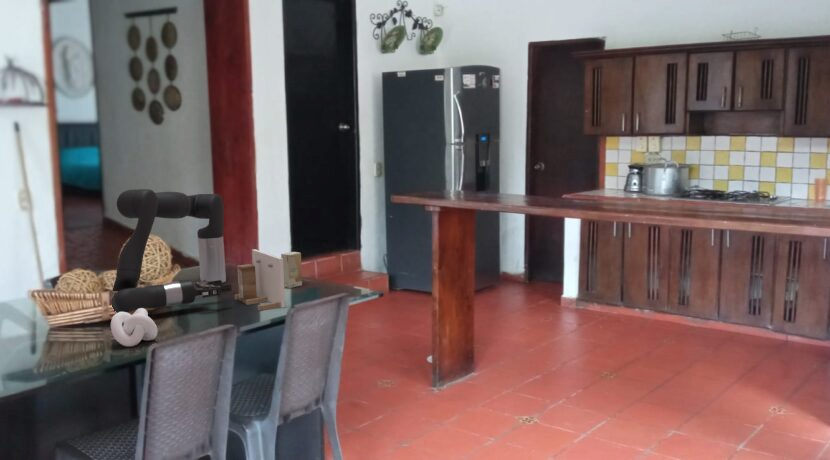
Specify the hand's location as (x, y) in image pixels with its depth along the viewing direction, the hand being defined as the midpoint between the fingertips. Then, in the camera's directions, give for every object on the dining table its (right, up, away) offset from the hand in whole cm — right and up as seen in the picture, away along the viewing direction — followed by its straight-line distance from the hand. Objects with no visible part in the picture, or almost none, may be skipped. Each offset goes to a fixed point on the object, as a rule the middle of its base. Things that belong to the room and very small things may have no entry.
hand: (226, 285), depth 254 cm
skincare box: (+18, -2, +26) cm, 31 cm away
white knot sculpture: (-16, -13, -39) cm, 44 cm away
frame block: (+6, -6, +5) cm, 10 cm away
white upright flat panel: (+10, -6, +2) cm, 12 cm away
